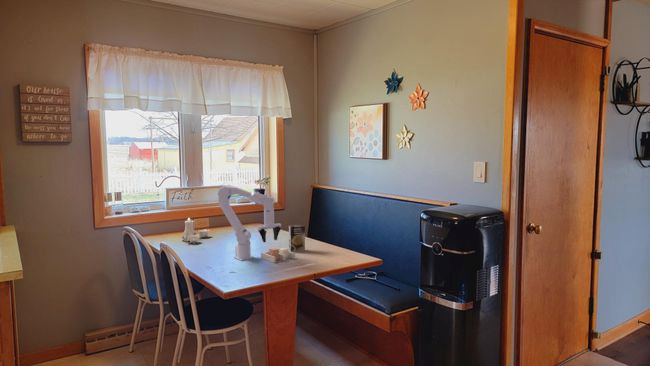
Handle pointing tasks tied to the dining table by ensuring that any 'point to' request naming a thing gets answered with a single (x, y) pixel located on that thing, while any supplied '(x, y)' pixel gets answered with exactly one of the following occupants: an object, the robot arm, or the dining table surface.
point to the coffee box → (296, 238)
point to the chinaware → (193, 232)
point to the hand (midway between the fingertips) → (269, 240)
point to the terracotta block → (274, 253)
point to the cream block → (284, 252)
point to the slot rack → (281, 257)
